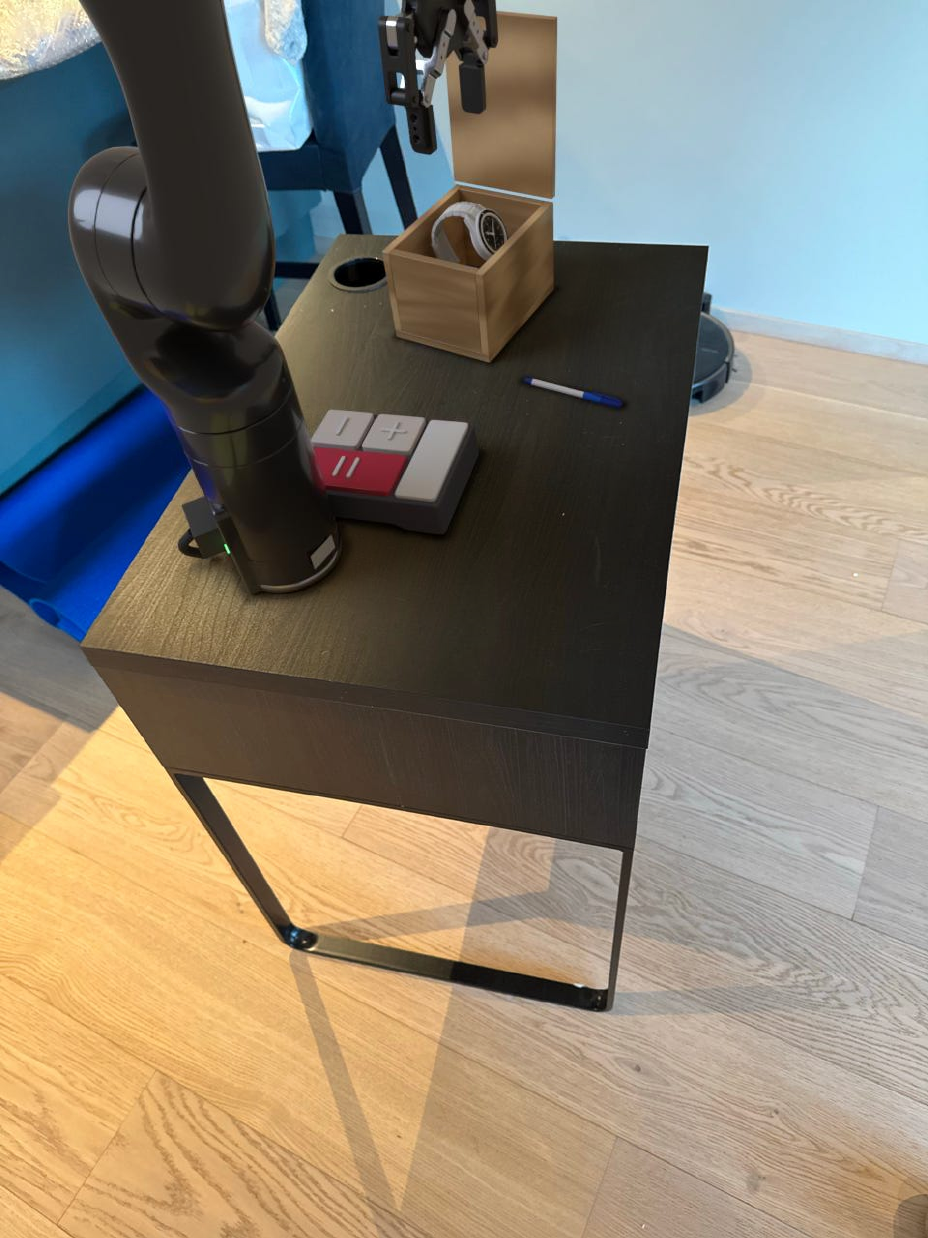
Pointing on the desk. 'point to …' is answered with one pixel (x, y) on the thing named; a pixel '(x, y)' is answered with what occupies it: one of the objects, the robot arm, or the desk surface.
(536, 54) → the chest lid
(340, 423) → the calculator
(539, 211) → the chest
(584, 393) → the ballpoint pen
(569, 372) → the desk surface
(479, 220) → the watch
